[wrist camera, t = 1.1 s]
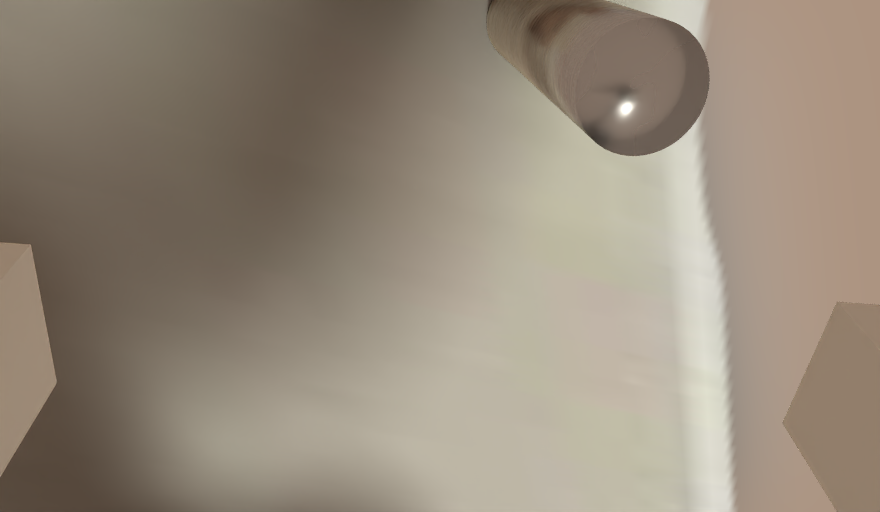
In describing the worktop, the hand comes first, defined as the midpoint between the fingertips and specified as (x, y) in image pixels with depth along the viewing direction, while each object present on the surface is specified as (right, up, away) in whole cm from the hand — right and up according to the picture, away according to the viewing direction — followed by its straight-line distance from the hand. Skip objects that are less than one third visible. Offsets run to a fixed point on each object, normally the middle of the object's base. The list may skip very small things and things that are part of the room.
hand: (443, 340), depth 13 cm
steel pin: (+4, +11, +19) cm, 22 cm away
